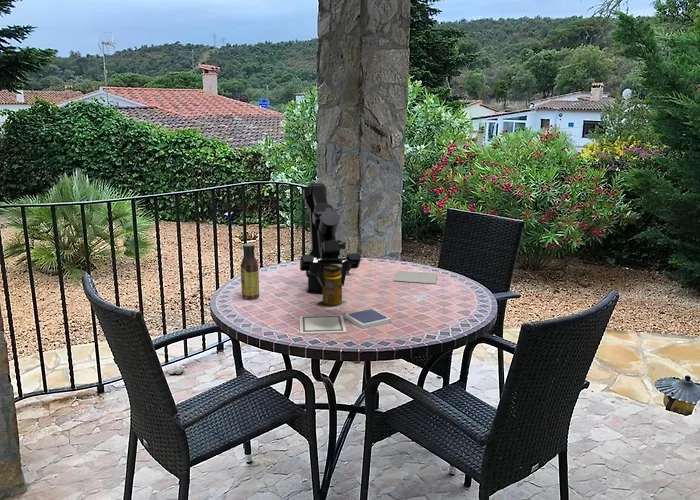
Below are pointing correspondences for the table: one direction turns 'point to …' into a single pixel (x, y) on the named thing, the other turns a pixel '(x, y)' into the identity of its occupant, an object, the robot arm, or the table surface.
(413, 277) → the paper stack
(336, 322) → the marked board
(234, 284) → the table surface
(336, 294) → the condiment
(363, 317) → the ink pad
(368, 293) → the table surface
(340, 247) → the robot arm
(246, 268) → the sauce bottle
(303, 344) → the table surface
